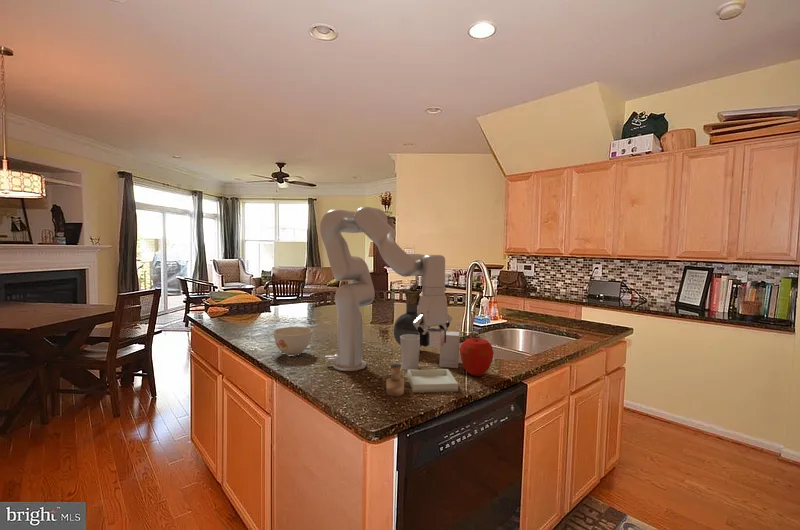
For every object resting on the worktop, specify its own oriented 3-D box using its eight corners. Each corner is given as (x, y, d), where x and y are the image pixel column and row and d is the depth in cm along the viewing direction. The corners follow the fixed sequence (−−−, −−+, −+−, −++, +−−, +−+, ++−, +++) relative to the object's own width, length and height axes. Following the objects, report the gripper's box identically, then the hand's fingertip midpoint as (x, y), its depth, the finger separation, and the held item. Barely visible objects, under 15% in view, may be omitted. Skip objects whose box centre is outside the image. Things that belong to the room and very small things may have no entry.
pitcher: (397, 346, 175) (398, 281, 174) (438, 350, 170) (440, 283, 168) (390, 352, 165) (391, 283, 164) (433, 357, 160) (435, 286, 158)
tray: (413, 392, 121) (413, 384, 121) (407, 376, 135) (407, 369, 135) (458, 391, 122) (458, 383, 122) (447, 375, 137) (447, 369, 137)
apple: (454, 370, 143) (455, 333, 143) (483, 368, 146) (484, 332, 145) (467, 381, 131) (468, 341, 131) (499, 379, 134) (500, 339, 133)
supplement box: (458, 368, 145) (459, 335, 145) (438, 366, 147) (439, 334, 146) (459, 362, 153) (460, 331, 152) (440, 361, 154) (441, 330, 154)
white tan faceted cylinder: (386, 396, 117) (387, 367, 117) (385, 389, 123) (386, 361, 122) (404, 395, 118) (405, 367, 118) (402, 388, 124) (403, 361, 123)
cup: (405, 372, 140) (406, 340, 139) (396, 366, 147) (396, 335, 146) (424, 369, 143) (425, 338, 143) (414, 363, 151) (414, 333, 150)
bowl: (266, 353, 161) (266, 330, 160) (301, 347, 171) (301, 325, 171) (283, 362, 149) (283, 337, 148) (319, 355, 159) (319, 331, 159)
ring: (447, 343, 129) (447, 329, 129) (437, 348, 123) (437, 332, 123) (425, 340, 134) (425, 326, 133) (414, 344, 128) (414, 329, 128)
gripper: (445, 289, 135) (444, 338, 136) (406, 292, 125) (405, 345, 126) (460, 291, 129) (459, 342, 130) (420, 294, 119) (419, 350, 120)
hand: (432, 343), depth 128 cm, fingers closed on ring, 7 cm apart
